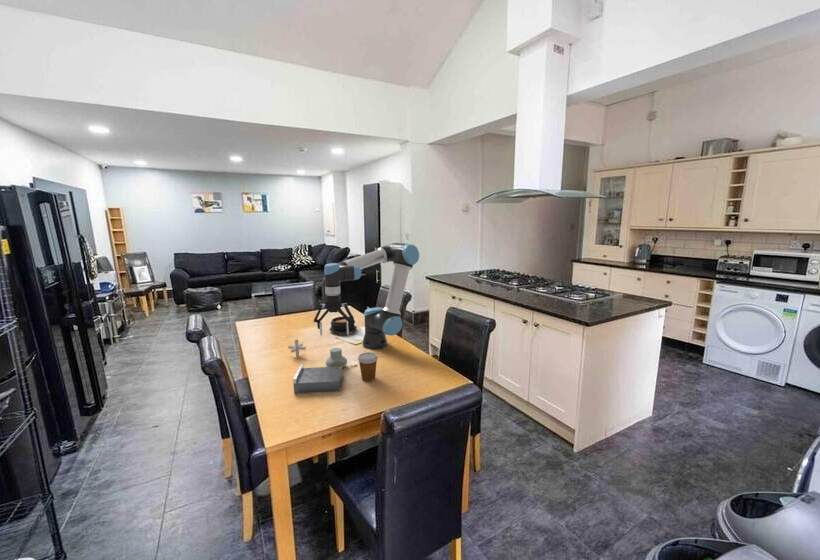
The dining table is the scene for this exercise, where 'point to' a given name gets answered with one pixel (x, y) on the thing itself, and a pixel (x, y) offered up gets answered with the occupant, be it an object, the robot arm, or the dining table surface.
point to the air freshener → (336, 358)
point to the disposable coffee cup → (368, 366)
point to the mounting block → (317, 379)
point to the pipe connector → (296, 347)
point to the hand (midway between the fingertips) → (334, 334)
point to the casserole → (342, 326)
